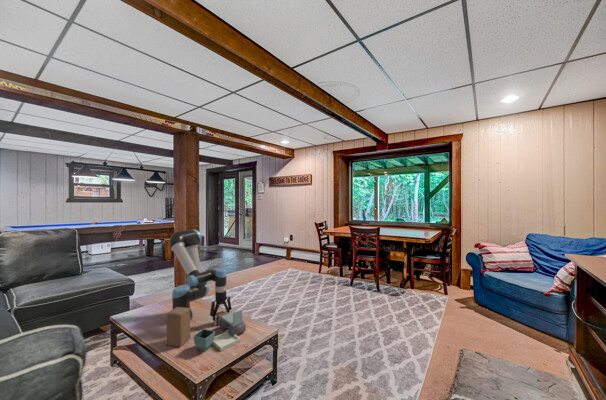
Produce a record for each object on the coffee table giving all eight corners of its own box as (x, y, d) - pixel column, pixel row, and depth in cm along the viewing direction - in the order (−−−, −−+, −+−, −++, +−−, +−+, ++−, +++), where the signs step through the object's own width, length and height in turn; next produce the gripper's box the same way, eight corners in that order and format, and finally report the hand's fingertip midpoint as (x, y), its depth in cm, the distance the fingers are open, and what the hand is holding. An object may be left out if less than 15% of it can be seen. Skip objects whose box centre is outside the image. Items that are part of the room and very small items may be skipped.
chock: (215, 323, 182) (215, 313, 182) (223, 320, 186) (222, 310, 186) (218, 325, 179) (218, 315, 178) (226, 322, 183) (226, 312, 183)
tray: (210, 342, 158) (210, 338, 158) (229, 333, 168) (229, 330, 168) (220, 351, 149) (220, 347, 149) (240, 341, 159) (240, 338, 159)
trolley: (218, 327, 175) (218, 305, 175) (230, 323, 182) (230, 301, 182) (233, 338, 162) (233, 314, 162) (245, 333, 169) (245, 310, 168)
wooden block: (180, 347, 153) (180, 314, 152) (165, 345, 155) (165, 313, 154) (191, 338, 163) (190, 307, 162) (177, 336, 165) (176, 306, 164)
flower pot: (205, 354, 146) (205, 338, 146) (193, 351, 149) (192, 336, 149) (215, 345, 155) (215, 331, 155) (203, 343, 158) (203, 328, 157)
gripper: (209, 296, 172) (209, 330, 172) (236, 288, 187) (236, 319, 187) (204, 293, 177) (204, 326, 177) (231, 285, 192) (231, 315, 193)
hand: (221, 322), depth 182 cm, fingers open, 8 cm apart
